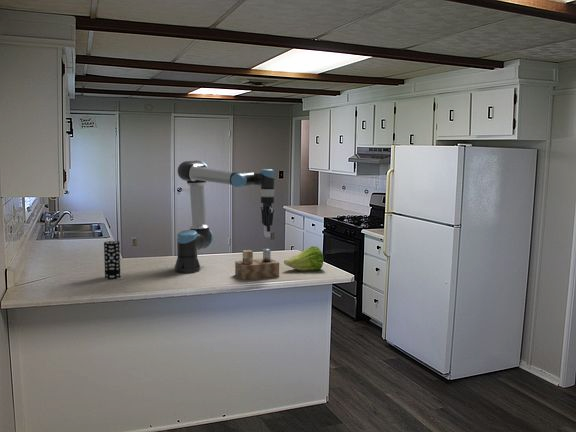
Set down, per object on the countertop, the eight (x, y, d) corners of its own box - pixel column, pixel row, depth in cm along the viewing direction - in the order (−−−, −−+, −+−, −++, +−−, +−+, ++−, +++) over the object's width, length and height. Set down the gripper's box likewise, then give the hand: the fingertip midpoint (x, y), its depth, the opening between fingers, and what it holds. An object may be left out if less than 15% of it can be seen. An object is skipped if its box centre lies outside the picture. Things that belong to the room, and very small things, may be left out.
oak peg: (245, 265, 304) (245, 252, 303) (242, 264, 308) (242, 250, 306) (252, 265, 306) (252, 251, 305) (249, 263, 310) (249, 249, 308)
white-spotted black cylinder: (111, 280, 295) (110, 244, 292) (101, 277, 299) (100, 242, 296) (123, 277, 302) (122, 242, 299) (113, 274, 306) (112, 240, 303)
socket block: (243, 280, 300) (243, 266, 298) (235, 274, 311) (235, 261, 310) (279, 276, 310) (279, 262, 308) (269, 271, 321) (269, 258, 320)
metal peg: (264, 263, 309) (264, 250, 308) (261, 262, 313) (261, 248, 312) (271, 263, 311) (271, 249, 310) (268, 261, 315) (268, 248, 314)
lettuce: (289, 276, 314) (280, 272, 328) (326, 270, 324) (316, 266, 338) (287, 252, 313) (278, 249, 327) (324, 246, 322) (314, 243, 336)
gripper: (278, 197, 302) (278, 238, 305) (268, 194, 315) (267, 234, 318) (266, 197, 299) (266, 239, 302) (256, 195, 311) (255, 235, 315)
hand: (266, 236), depth 310 cm, fingers closed
